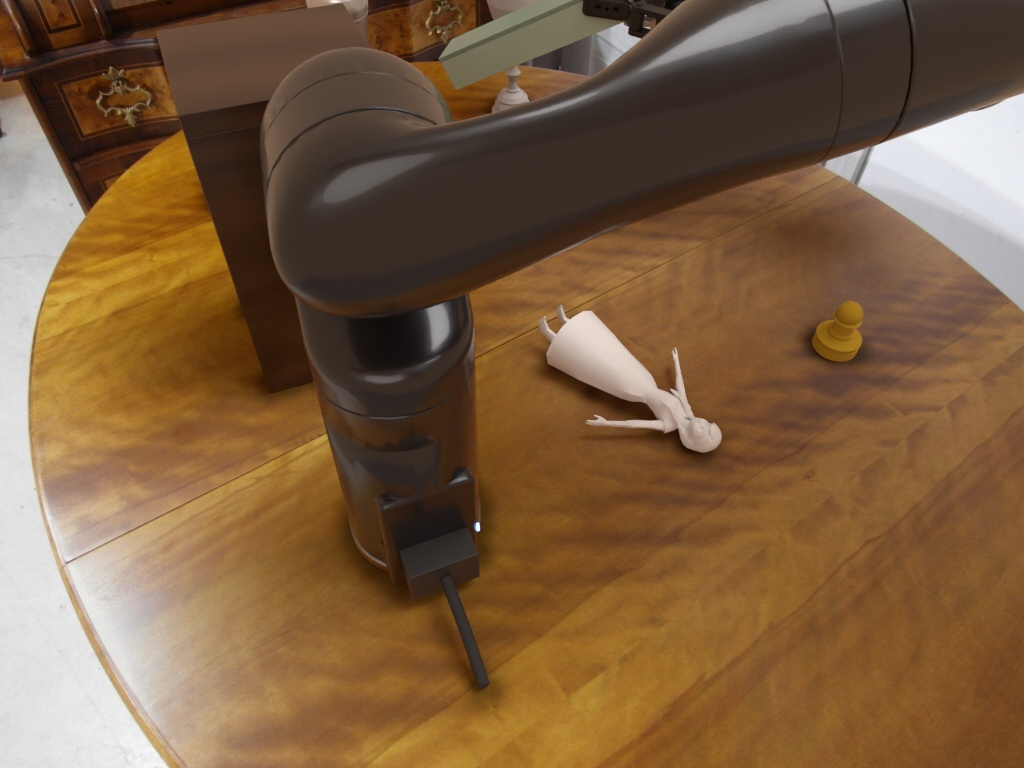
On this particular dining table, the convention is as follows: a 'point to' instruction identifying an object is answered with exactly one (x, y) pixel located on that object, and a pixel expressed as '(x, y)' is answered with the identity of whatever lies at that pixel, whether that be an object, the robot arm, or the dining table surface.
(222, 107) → the tall wooden pillar
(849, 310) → the chess piece
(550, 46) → the storage box
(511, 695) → the dining table surface
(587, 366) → the woman figurine
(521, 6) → the chalice
